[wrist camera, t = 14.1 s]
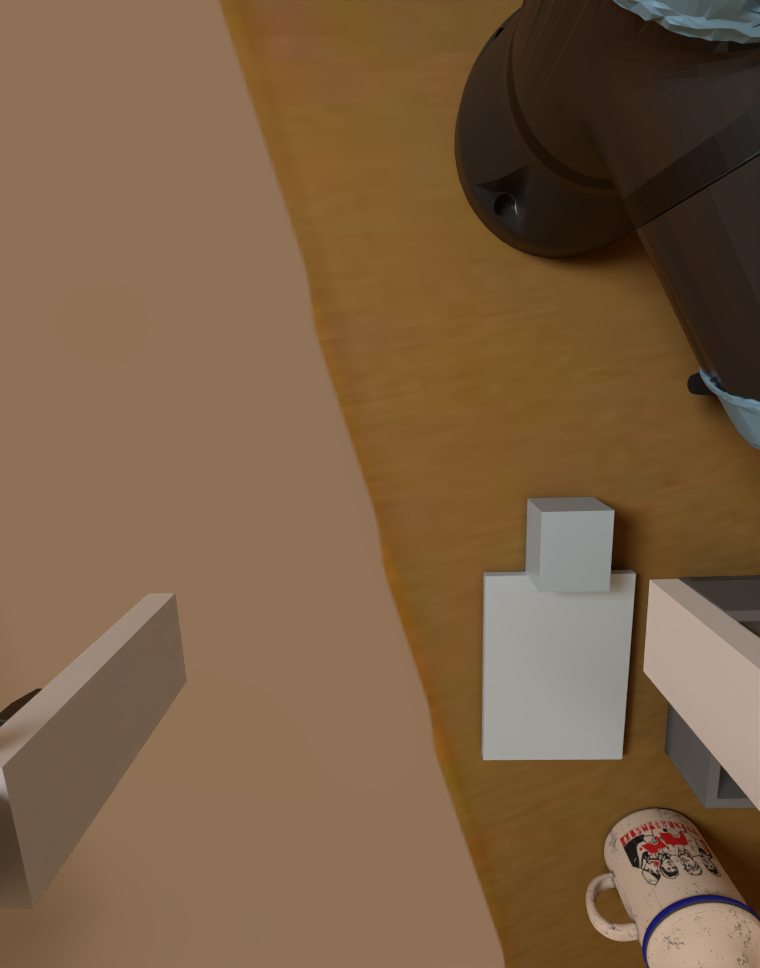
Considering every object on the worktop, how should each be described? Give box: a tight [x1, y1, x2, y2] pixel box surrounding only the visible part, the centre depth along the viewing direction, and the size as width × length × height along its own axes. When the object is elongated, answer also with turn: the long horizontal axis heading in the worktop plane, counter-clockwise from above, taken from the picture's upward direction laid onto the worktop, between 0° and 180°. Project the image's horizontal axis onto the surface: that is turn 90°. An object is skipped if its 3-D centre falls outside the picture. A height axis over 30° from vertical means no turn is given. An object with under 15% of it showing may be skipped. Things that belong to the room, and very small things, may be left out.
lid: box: [482, 497, 636, 760], centre depth 41 cm, size 23×12×5 cm, turn 2°
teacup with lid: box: [586, 808, 760, 968], centre depth 42 cm, size 12×9×12 cm
